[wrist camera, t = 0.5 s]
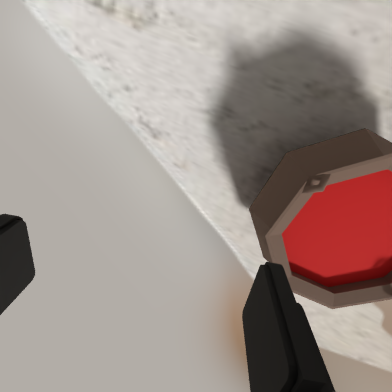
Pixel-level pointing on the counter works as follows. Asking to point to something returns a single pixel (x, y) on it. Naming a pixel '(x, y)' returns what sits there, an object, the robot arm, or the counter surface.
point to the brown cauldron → (331, 219)
